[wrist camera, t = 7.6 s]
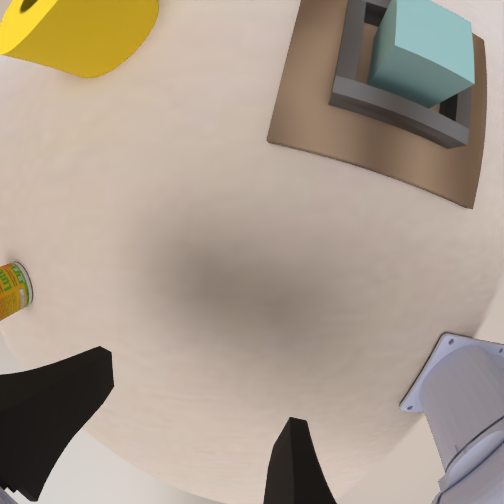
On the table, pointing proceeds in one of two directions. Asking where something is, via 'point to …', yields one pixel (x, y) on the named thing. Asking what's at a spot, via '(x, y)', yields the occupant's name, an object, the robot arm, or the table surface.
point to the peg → (422, 52)
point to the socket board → (375, 106)
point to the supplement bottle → (13, 289)
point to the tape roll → (76, 32)
